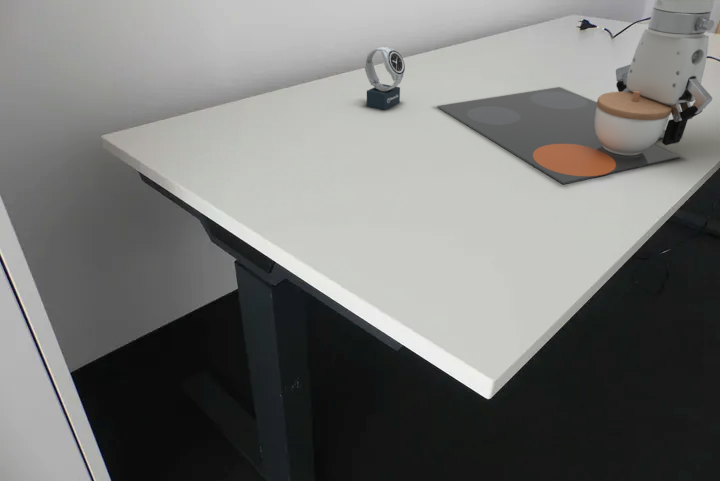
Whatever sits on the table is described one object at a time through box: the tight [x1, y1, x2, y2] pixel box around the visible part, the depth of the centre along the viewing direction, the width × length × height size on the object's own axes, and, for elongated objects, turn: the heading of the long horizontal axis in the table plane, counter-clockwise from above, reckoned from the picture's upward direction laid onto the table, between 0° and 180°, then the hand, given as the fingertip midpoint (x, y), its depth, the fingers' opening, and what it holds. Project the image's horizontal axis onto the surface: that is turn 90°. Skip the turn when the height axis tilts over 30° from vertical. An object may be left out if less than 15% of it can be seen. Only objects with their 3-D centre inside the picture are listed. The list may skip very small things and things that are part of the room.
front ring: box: [533, 144, 616, 177], centre depth 85 cm, size 12×12×1 cm
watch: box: [364, 46, 406, 111], centre depth 106 cm, size 6×8×11 cm
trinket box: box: [594, 91, 672, 156], centre depth 86 cm, size 11×11×9 cm
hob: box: [437, 86, 681, 185], centre depth 97 cm, size 30×37×1 cm
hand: (646, 132), depth 88 cm, fingers open, 9 cm apart
